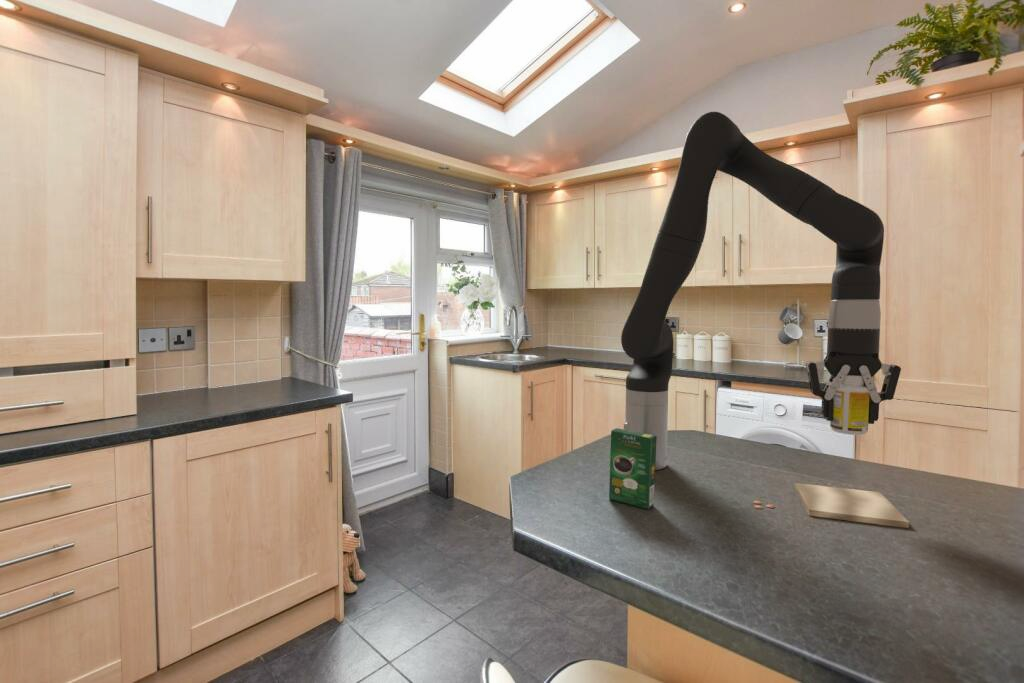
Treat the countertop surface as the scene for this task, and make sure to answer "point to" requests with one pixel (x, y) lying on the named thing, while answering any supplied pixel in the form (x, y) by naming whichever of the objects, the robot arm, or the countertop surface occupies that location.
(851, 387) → the supplement bottle
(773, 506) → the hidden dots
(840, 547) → the countertop surface
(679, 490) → the countertop surface
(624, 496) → the coffee box
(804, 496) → the oak board
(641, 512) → the countertop surface
